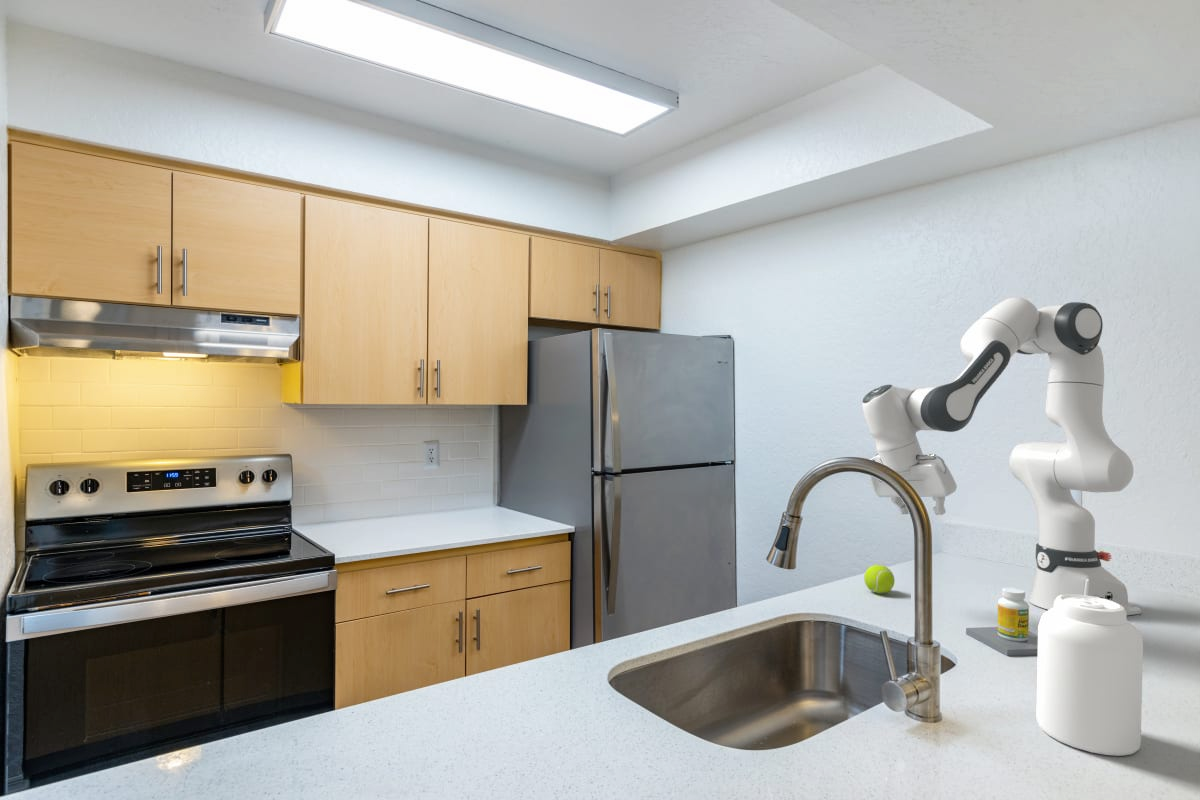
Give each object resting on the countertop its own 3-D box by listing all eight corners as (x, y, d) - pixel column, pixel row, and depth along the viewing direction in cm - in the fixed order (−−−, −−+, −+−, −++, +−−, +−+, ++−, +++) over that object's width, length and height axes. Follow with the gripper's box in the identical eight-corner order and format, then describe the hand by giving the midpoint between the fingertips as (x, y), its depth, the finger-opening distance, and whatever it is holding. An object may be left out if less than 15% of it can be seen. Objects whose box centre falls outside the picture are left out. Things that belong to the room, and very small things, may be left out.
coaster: (1018, 631, 143) (1018, 626, 143) (1064, 653, 131) (1064, 647, 131) (966, 633, 141) (966, 627, 141) (1007, 656, 129) (1007, 649, 129)
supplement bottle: (1005, 630, 140) (1006, 584, 139) (1033, 638, 135) (1034, 591, 135) (992, 635, 137) (993, 588, 136) (1020, 644, 132) (1021, 595, 132)
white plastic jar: (1147, 768, 91) (1151, 620, 90) (1036, 741, 97) (1039, 604, 97) (1134, 729, 101) (1137, 597, 101) (1035, 707, 108) (1037, 583, 108)
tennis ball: (900, 596, 167) (900, 568, 167) (875, 597, 165) (876, 569, 165) (882, 588, 174) (882, 561, 174) (858, 589, 172) (858, 562, 172)
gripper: (949, 448, 144) (972, 508, 144) (876, 454, 162) (897, 507, 162) (930, 458, 141) (954, 520, 141) (858, 464, 160) (879, 518, 160)
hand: (923, 513), depth 152 cm, fingers open, 8 cm apart
